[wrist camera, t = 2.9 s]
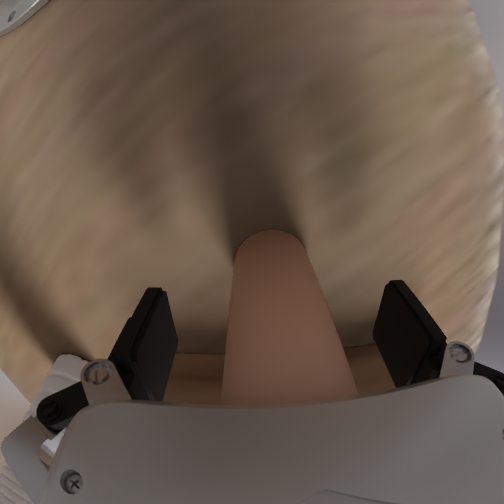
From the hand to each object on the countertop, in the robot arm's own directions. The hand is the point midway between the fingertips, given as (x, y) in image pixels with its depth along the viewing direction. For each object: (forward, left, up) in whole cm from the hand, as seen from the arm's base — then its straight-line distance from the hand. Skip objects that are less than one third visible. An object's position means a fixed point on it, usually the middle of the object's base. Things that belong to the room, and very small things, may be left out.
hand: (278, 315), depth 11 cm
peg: (0, 0, -4) cm, 4 cm away
